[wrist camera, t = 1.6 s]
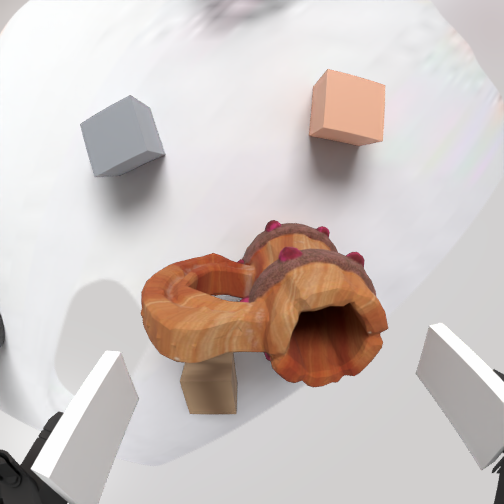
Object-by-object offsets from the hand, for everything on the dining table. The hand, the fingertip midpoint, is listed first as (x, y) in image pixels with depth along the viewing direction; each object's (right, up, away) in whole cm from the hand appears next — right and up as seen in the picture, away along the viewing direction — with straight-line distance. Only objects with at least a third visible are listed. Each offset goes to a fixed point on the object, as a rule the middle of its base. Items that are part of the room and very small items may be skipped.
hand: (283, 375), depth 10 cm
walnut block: (-6, -8, +19) cm, 22 cm away
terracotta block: (+7, +18, +13) cm, 22 cm away
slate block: (-12, +15, +13) cm, 23 cm away
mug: (0, +4, +16) cm, 17 cm away
